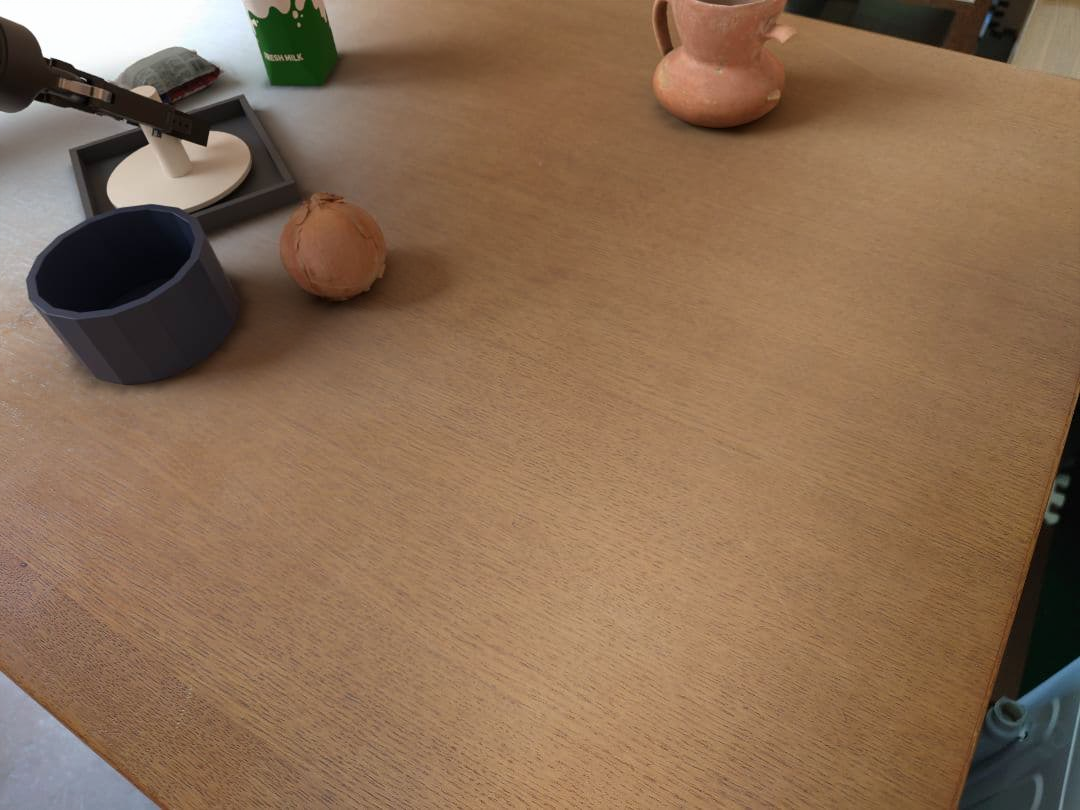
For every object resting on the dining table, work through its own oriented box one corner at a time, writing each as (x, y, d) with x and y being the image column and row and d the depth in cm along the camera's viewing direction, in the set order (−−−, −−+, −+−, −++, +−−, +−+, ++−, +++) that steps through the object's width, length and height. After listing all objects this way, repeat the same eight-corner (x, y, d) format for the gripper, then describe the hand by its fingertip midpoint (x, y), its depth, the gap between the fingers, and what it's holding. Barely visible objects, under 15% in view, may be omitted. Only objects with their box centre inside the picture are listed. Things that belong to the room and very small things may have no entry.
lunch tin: (71, 310, 75) (19, 241, 68) (219, 256, 79) (183, 185, 72) (92, 411, 66) (35, 343, 60) (257, 345, 70) (220, 274, 63)
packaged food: (118, 100, 100) (99, 63, 96) (200, 63, 105) (185, 27, 101) (149, 124, 96) (130, 87, 92) (232, 86, 101) (218, 48, 97)
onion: (342, 285, 79) (313, 186, 75) (417, 282, 75) (390, 176, 70) (277, 318, 72) (240, 210, 67) (355, 317, 67) (321, 201, 63)
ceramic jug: (816, 107, 88) (845, -26, 77) (731, 162, 82) (749, 28, 71) (695, 55, 97) (706, -70, 86) (612, 102, 91) (612, -26, 80)
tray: (80, 168, 91) (68, 149, 89) (251, 113, 96) (243, 93, 94) (107, 273, 78) (94, 252, 76) (302, 202, 83) (294, 182, 81)
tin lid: (102, 168, 89) (52, 84, 81) (235, 125, 93) (199, 40, 85) (124, 241, 80) (70, 154, 72) (270, 190, 84) (234, 102, 76)
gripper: (43, 21, 60) (256, 109, 82) (-85, -6, 66) (147, 84, 88) (28, 118, 62) (242, 180, 83) (-96, 84, 67) (135, 150, 89)
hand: (193, 130), depth 86 cm, fingers closed on tin lid, 3 cm apart
